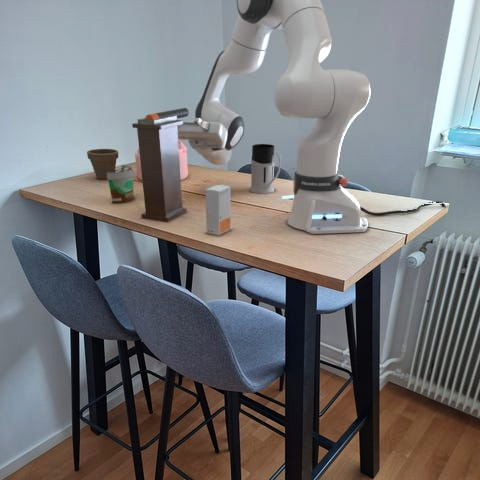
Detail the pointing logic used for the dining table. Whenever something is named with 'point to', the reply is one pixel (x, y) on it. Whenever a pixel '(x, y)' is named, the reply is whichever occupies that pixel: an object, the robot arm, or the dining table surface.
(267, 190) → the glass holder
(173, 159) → the stand
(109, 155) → the flower pot
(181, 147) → the cake
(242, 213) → the dining table surface
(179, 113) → the marker
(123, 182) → the food container
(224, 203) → the cosmetic box
